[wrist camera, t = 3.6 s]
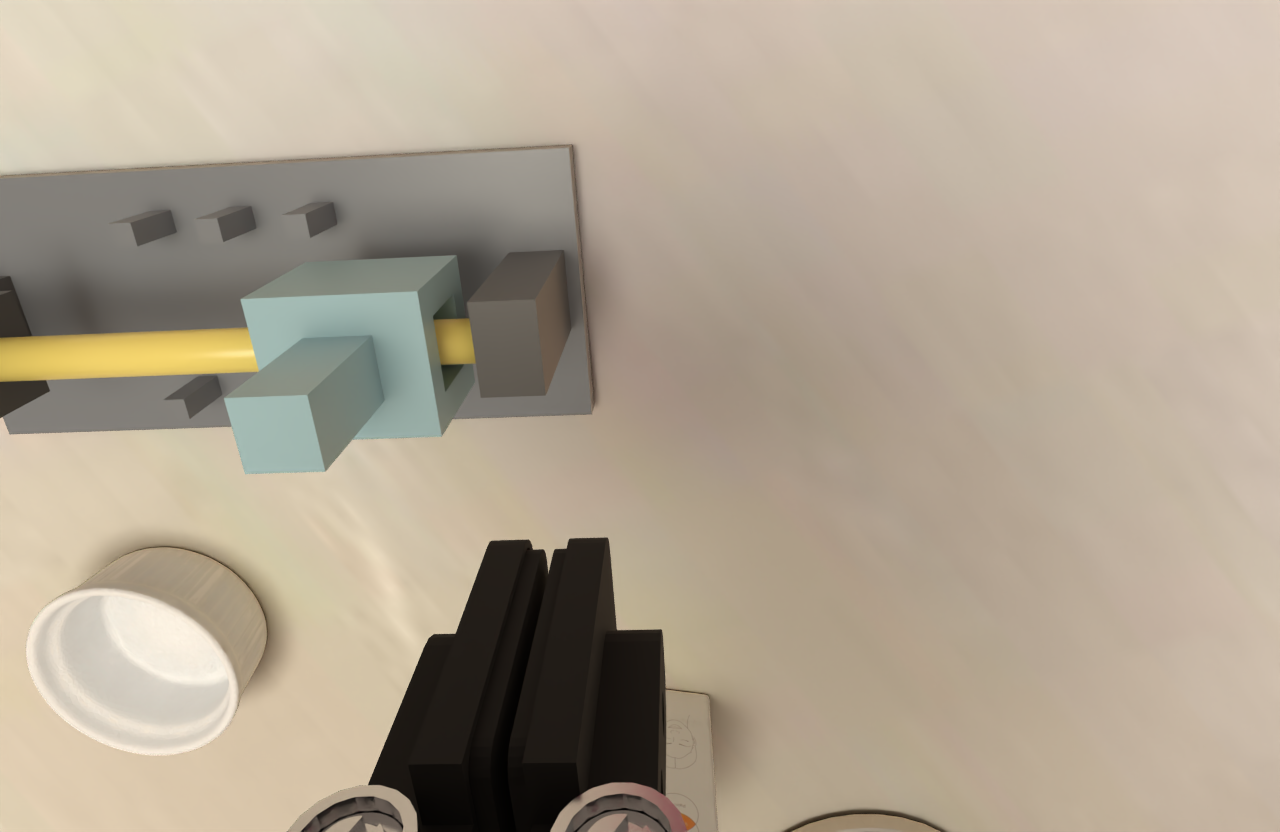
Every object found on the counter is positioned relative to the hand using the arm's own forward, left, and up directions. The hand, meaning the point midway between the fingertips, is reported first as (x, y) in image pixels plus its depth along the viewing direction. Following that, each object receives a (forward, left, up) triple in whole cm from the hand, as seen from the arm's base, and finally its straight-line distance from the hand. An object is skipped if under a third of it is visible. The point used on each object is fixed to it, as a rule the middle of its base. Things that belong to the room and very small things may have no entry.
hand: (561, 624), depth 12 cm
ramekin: (+22, +15, -21) cm, 34 cm away
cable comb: (+14, 0, -21) cm, 25 cm away
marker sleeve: (+8, 0, -17) cm, 18 cm away
